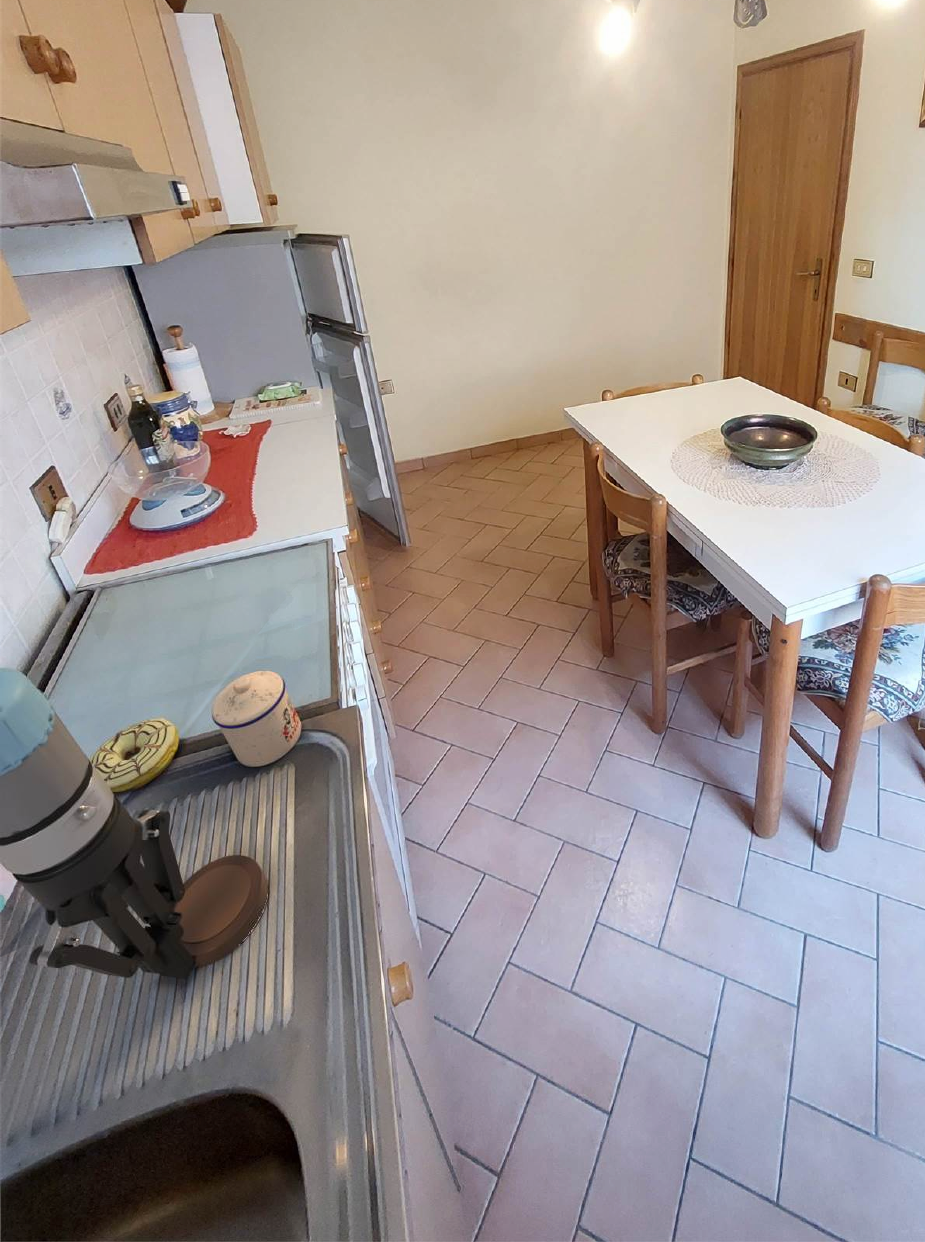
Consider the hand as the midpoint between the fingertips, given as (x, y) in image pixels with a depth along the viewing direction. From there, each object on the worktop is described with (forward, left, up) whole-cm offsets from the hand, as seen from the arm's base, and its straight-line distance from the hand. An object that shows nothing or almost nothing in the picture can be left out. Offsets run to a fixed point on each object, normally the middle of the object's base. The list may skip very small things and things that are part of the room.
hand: (179, 968), depth 62 cm
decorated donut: (-24, +22, -2) cm, 33 cm away
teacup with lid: (-8, +28, -2) cm, 29 cm away
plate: (0, +6, -2) cm, 6 cm away
